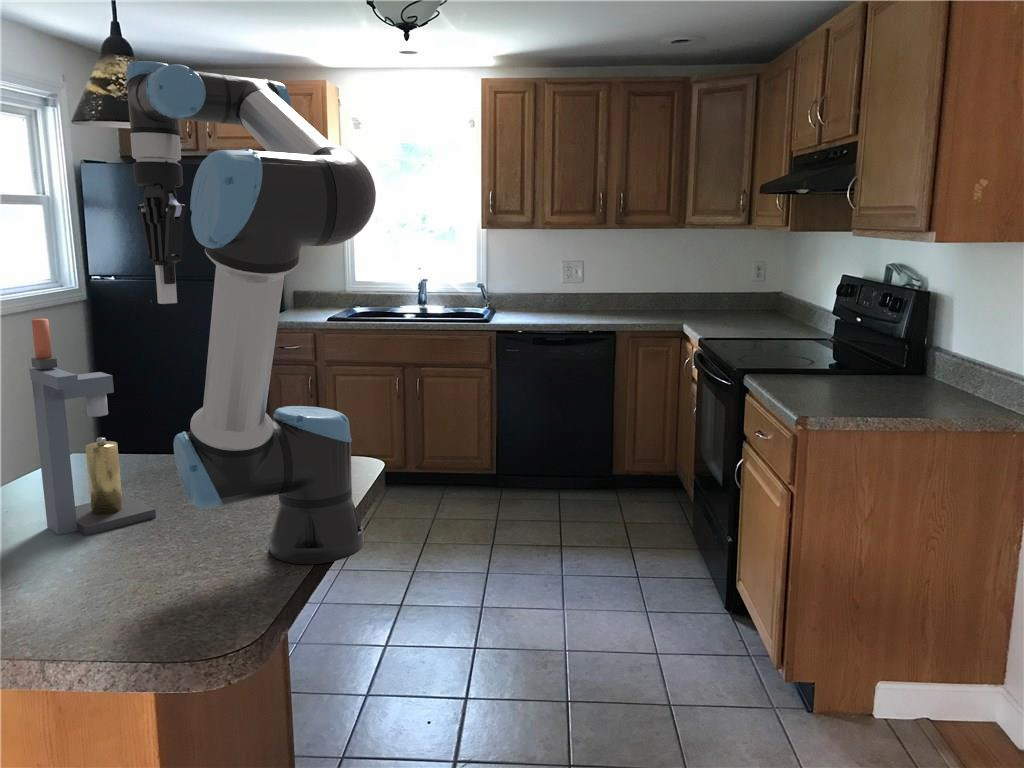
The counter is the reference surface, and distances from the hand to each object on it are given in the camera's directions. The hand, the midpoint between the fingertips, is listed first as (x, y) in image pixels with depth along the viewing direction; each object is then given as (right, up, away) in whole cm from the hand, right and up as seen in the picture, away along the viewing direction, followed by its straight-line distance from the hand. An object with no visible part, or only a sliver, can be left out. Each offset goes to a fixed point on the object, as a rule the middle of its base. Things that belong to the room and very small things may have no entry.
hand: (167, 303), depth 138 cm
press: (-13, -38, +3) cm, 41 cm away
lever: (-18, -12, -5) cm, 22 cm away
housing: (-13, -37, +5) cm, 39 cm away
